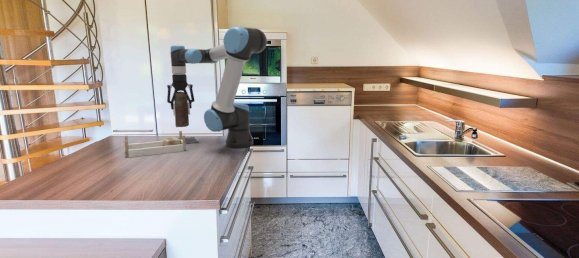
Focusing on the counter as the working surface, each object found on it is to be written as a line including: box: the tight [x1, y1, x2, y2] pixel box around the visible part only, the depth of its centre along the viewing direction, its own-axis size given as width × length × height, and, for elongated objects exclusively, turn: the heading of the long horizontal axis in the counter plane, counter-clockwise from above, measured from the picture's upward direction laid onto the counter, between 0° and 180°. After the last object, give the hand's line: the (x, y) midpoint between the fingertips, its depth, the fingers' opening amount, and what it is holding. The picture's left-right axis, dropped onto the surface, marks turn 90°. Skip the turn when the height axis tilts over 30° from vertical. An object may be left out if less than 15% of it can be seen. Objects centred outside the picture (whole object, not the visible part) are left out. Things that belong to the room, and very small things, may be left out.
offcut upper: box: [162, 136, 179, 146], centre depth 173 cm, size 6×7×3 cm
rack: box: [124, 130, 187, 158], centre depth 170 cm, size 28×13×8 cm, turn 116°
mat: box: [176, 136, 199, 145], centre depth 190 cm, size 14×14×1 cm
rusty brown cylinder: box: [174, 91, 190, 128], centre depth 187 cm, size 8×7×20 cm
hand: (181, 114), depth 187 cm, fingers closed on rusty brown cylinder, 7 cm apart
